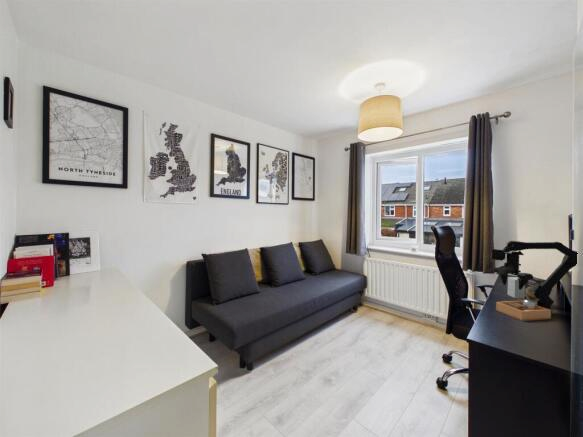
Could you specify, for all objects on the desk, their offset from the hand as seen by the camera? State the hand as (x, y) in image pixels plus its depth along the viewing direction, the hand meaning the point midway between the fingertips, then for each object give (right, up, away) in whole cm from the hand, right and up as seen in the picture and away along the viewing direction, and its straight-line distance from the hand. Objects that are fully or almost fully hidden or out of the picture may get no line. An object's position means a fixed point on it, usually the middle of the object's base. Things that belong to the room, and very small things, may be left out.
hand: (512, 287), depth 148 cm
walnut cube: (-8, -11, -12) cm, 19 cm away
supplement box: (+20, -12, +18) cm, 29 cm away
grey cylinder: (-1, -11, -11) cm, 16 cm away
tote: (-5, -12, -11) cm, 17 cm away
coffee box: (+20, -12, +5) cm, 24 cm away
